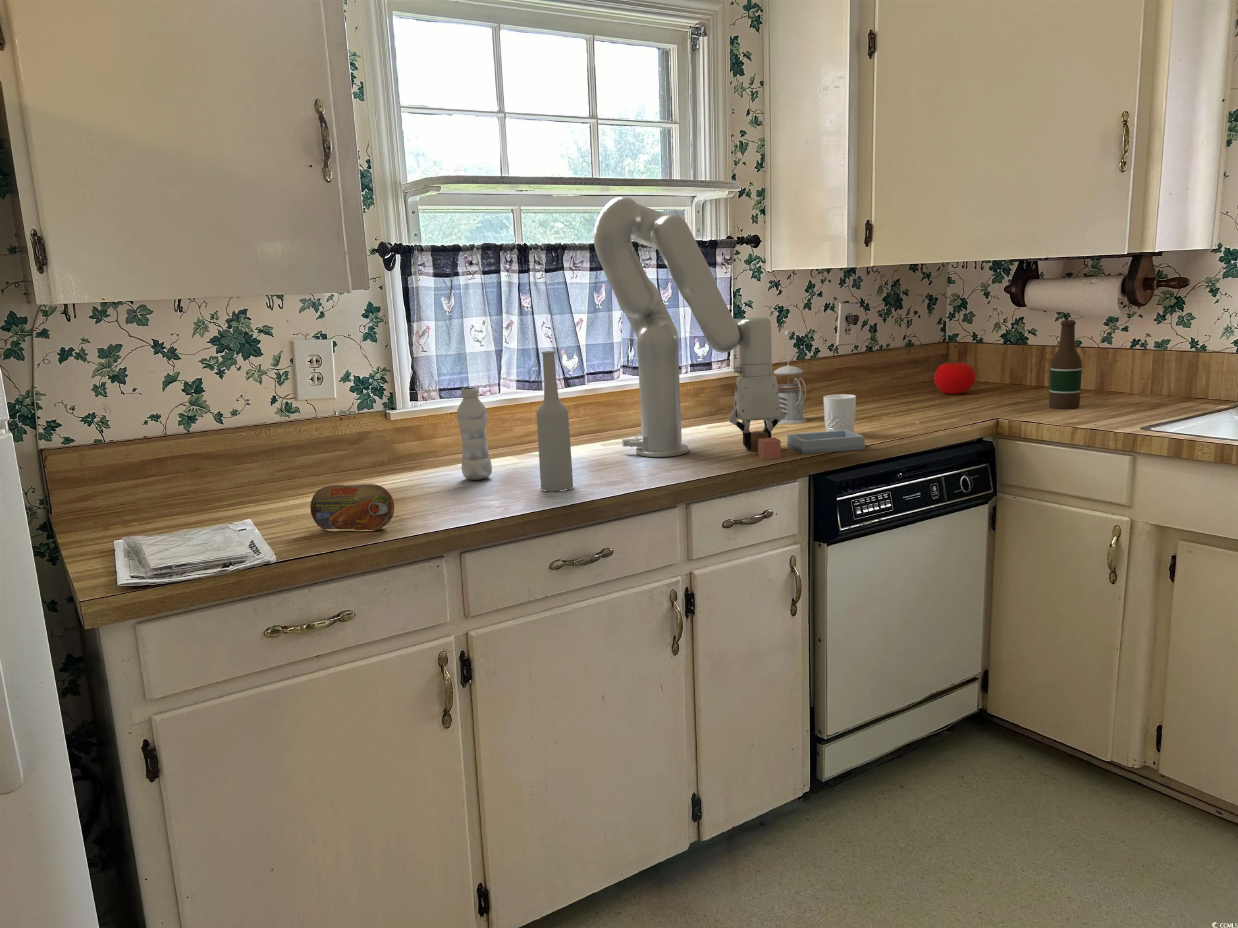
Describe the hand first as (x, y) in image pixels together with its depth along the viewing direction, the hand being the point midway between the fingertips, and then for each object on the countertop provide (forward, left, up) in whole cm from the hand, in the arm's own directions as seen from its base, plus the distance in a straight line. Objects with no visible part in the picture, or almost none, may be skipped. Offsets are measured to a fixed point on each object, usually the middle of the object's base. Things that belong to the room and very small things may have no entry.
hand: (757, 447), depth 216 cm
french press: (+21, +35, -1) cm, 41 cm away
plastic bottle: (-66, -8, -1) cm, 66 cm away
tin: (-88, -42, -1) cm, 98 cm away
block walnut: (0, 0, 0) cm, 0 cm away
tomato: (+85, +62, -1) cm, 105 cm away
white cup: (+24, +8, -1) cm, 25 cm away
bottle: (-50, -23, -1) cm, 55 cm away
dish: (+15, -5, 0) cm, 16 cm away
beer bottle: (+96, +23, -1) cm, 99 cm away
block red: (0, -9, -1) cm, 9 cm away
